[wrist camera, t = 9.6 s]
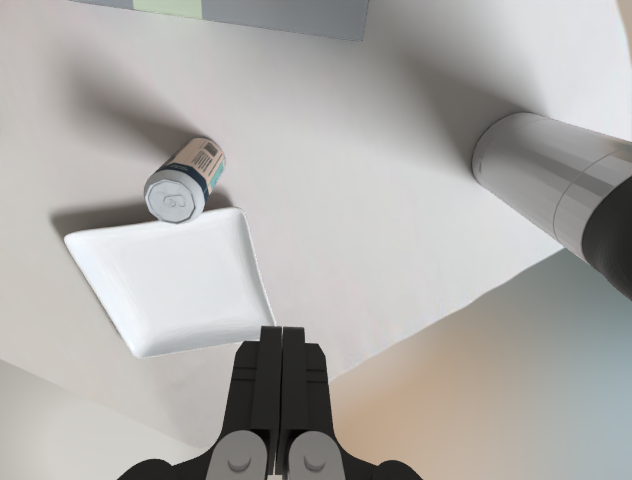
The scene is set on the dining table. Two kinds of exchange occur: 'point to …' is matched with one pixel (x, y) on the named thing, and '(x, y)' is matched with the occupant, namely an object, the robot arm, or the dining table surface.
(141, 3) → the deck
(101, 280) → the salad plate
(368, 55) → the dining table surface
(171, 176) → the beer can
